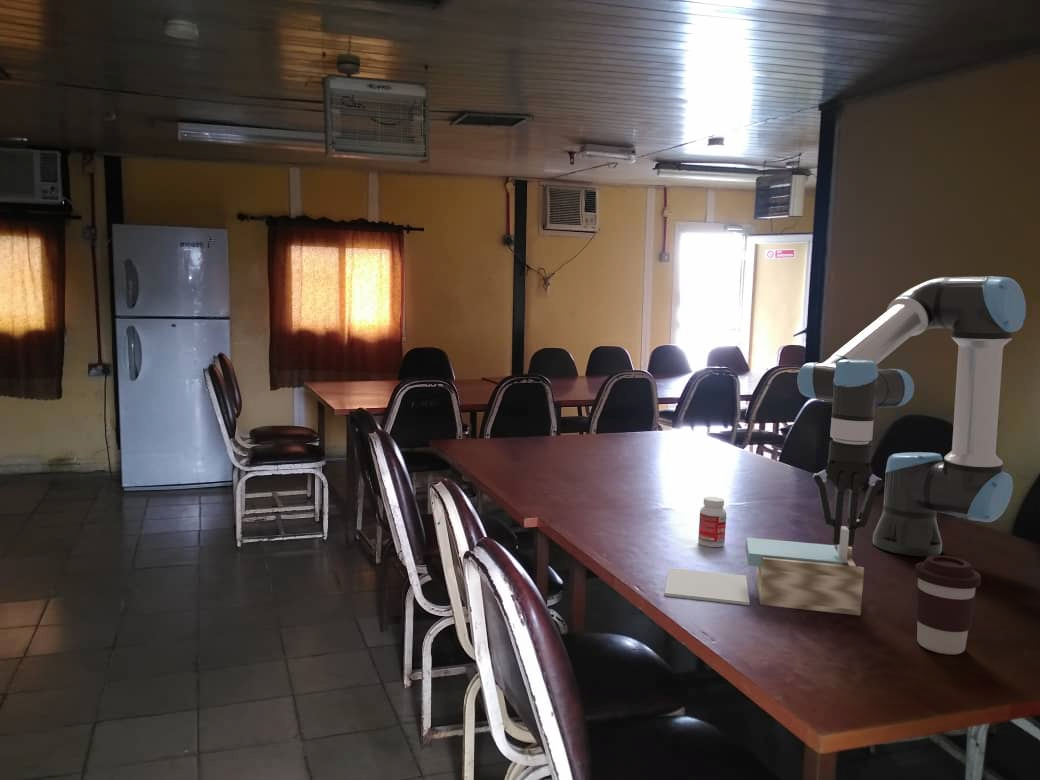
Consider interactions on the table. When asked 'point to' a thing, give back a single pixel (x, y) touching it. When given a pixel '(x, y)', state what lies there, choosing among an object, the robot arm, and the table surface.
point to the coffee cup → (945, 603)
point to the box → (811, 585)
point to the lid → (789, 551)
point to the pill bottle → (712, 523)
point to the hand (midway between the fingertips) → (841, 560)
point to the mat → (707, 586)
